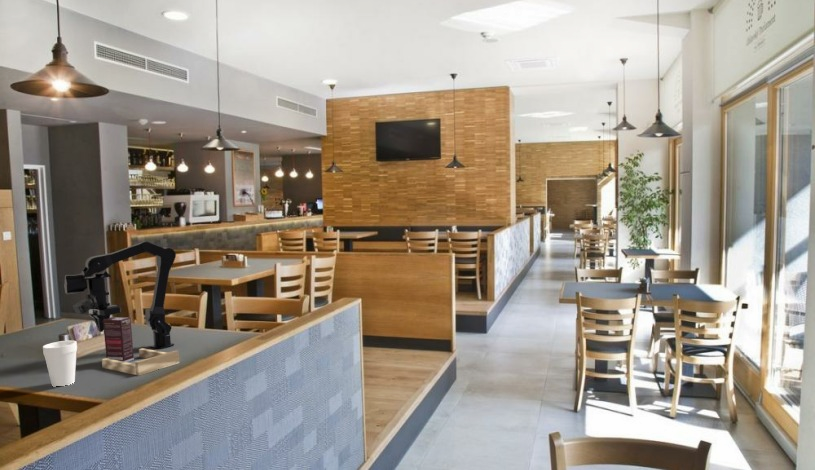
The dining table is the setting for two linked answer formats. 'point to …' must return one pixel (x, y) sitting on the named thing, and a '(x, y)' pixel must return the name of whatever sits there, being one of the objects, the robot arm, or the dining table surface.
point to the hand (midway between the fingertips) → (101, 331)
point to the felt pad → (136, 361)
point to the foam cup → (61, 362)
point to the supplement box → (118, 338)
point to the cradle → (144, 362)
